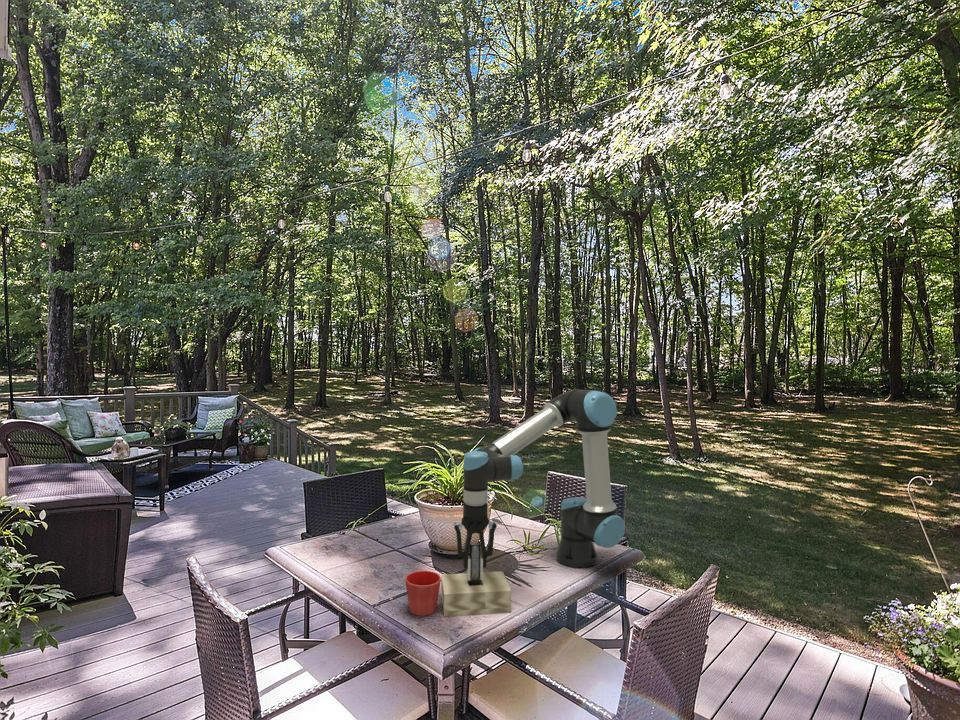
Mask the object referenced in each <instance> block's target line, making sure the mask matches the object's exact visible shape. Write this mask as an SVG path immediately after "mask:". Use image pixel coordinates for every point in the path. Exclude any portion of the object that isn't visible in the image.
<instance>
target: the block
mask: <svg viewBox="0 0 960 720" xmlns="http://www.w3.org/2000/svg"><path fill="white" fill-rule="evenodd" d="M440 577H441V582H440V591H441V592H440V597H441V602H442V612H443V617H455V616H456V617H457V616H458V617H459V616H471V615H472V616H473V615H474V616H475V615H489V614H492V615H493V614H506V613H511V612H512V589H511V587H510V585H509V583H508V581H507V580H508V579H507V577H506V576H505V574H504V571H503V570H502V571H485V572H484V571H483V580H480V585H475V586H470V580H469V581H468V579H467V572H465V573H464V572H463V573H447V574H443V573H442V574H440Z"/></svg>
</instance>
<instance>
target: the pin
mask: <svg viewBox="0 0 960 720" xmlns="http://www.w3.org/2000/svg"><path fill="white" fill-rule="evenodd" d="M480 555H481V545H480V542H472V543H470V549H469V556H470V559H471V564H470V586H475V585H480Z"/></svg>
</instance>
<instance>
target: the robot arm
mask: <svg viewBox="0 0 960 720" xmlns="http://www.w3.org/2000/svg"><path fill="white" fill-rule="evenodd" d="M617 415H618V409H617V404H616V402H615V400H614V399H613V397H612V396H611V395H610V394H608V393H607V392H603V391H600V390H591V389H589V390H588V389H581V388H580V389H579V388H574V389H570V390H567V391H565V392H563V393H561V394H559V395H557V396H556V397H554V398H553V399H552V398H551V400H549V401H548V402H546V403H545V404H544V406H543V408H542V409H541V410H540V411H538V412H536V413H535V414H534V415H532V416H530V417H529V418H528V419H526V420H524V421H523V422H522V423H520V424H519V425H517V426H515V427H514V428H512V429H511V430H509V431H508V432H506V433H505V434H504V435H502V436H500V437H499V438H497V439H496V440H494V441H492V443H490V444H488V445H487V446H485V447H477V448H475V449H473V450H472V451H468V452H466V453H465V454H464V455H463V456H464V457H463V467H462V469H463V470H462V471H463V494H462V495H463V498H462V499H463V500H462V501H463V502H464V503H463V506H462V510H463V511H462V518H461V521H459V522H454V524H453V527H454V530H455V533H456V534H455V535H456V545H457V546H456V547H457V555H458V557H459V558H462V559H463V568H464V569H466V573H467V579H468V581H469V580H470V564H471V559H470V544H471V542H472V537H473V534H478V539H479V544H480V553H481V554H480V580H483V572H484V569H486V568H487V558H488V557H490V556H492V555H493V552H494V540H495V532H496V529H497V527H498V525H497V523H496V521H491V520H490V519H489V517H488V511H489V509H488V505H489V504H488V503H487V502H488V500H489V499H488V496H489V495H488V494H489V493H488V489H489V488H488V486H489V483H493V482H501V481H512V480H516V479H517V480H518V479H520V478H521V477H522V475H523V472H524V465H523V461H522V459H521V457H520V456H518V455H516V454H517V453H518V452H520V451H521V450H523V449H524V448H526V447H527V446H529V445H530V444H532V443H534V441H536V440H537V439H539V438H540V437H542V436H544V435H545V434H547V433H548V432H549V431H550V430H551V431H552V429H554V428H555V427H561V426H563V425H565V424H566V423H570V422H576V431H577V432H578V433H579V434H580V435H581V441H582V454H583V468H584V469H583V470H584V478H585V479H584V482H585V492H586V494H585V495H586V497H584V496H583V497H582V496H581V497H580V496H578V497H577V496H576V497H567V498H565V499H563V500H562V501H561V505H560V541H559V543H558V545H557V550H556V552H555V559H556V561H557V563H559V564H561V565H563V566H565V565H566V567H569V566H572V567H571V568H575V567H586V566H590V565H593V564H595V563H596V562H597V563H598V554H597V551H596V548H595V545H597V546H598V547H603V548H606V549H611V548H613V547H615V546H616V545H618V544H619V543H620V542H621V540H623V537H624V535H625V532H626V524H625V521H624V518H622V517H621V516H620V515H618V507H617V504H616V503H615V502H614V501H613V499H612V485H611V484H612V483H611V474H610V473H611V471H610V460H609V459H610V458H609V446H608V443H609V442H608V433H609V432H610V431H611V430H612V426H611V425H612V424H613V423H614V422H615V419H617ZM487 526H488V529H489V530H488V539H487V540H488V541H487V542H488V543H487V550H486V543H485V535H484V531H485V529H486V527H487ZM463 527H464V528H465V530H466V536H465V543H464V549H463V546H462V532H461V531H462V529H463ZM597 563H596V564H597ZM596 564H595V565H596ZM586 568H587V567H586Z"/></svg>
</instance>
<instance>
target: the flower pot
mask: <svg viewBox="0 0 960 720" xmlns="http://www.w3.org/2000/svg"><path fill="white" fill-rule="evenodd" d="M405 587H406V595H407V601H408V607H409V612H410V613H411V614H412V615H415V616H429V615H432V614H433V613H435V612H436V608H437V604H438V598H439V593H440V589H441V574H439V573H437V572H435V571H430V570H417V571H413V572H410V573H409V574H407V575H406V576H405Z"/></svg>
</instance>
